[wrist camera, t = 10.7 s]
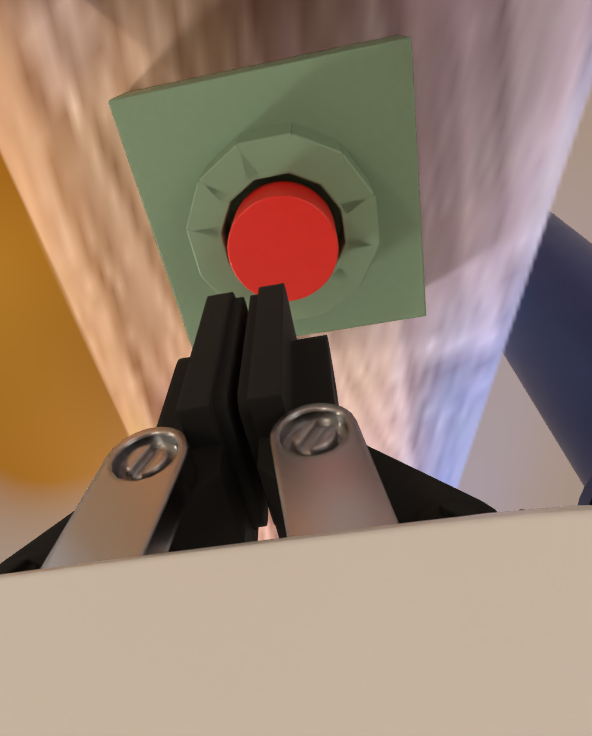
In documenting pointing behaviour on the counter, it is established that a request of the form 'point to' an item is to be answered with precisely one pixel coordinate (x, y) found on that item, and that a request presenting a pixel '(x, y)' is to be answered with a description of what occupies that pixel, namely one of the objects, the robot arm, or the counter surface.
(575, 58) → the counter surface
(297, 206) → the button
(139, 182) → the button box
